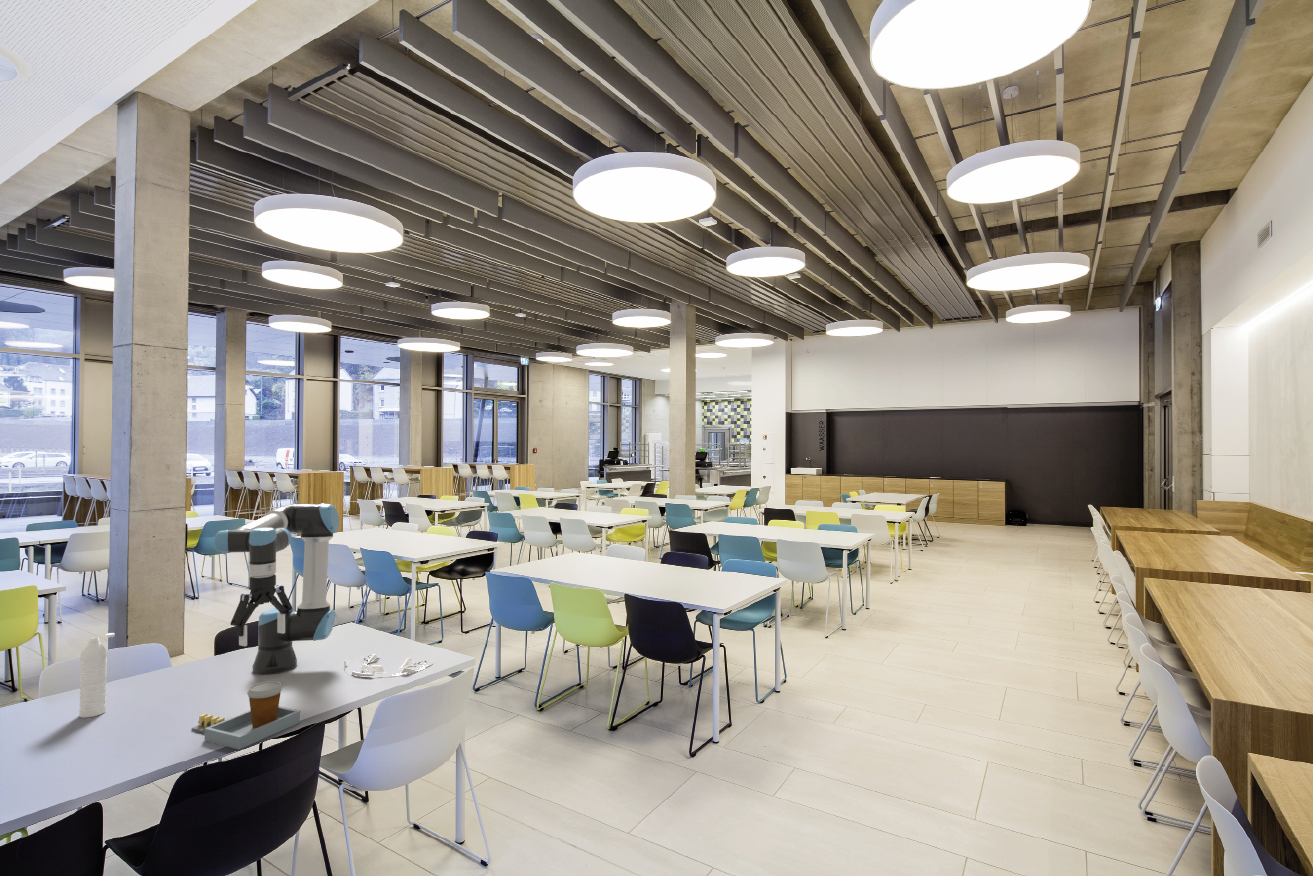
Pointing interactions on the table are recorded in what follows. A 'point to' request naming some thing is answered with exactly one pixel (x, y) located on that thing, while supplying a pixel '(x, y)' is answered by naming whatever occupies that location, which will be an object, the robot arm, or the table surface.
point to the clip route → (206, 722)
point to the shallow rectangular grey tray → (249, 728)
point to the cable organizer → (380, 668)
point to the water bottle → (93, 678)
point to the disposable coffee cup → (264, 702)
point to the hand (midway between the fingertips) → (262, 639)
